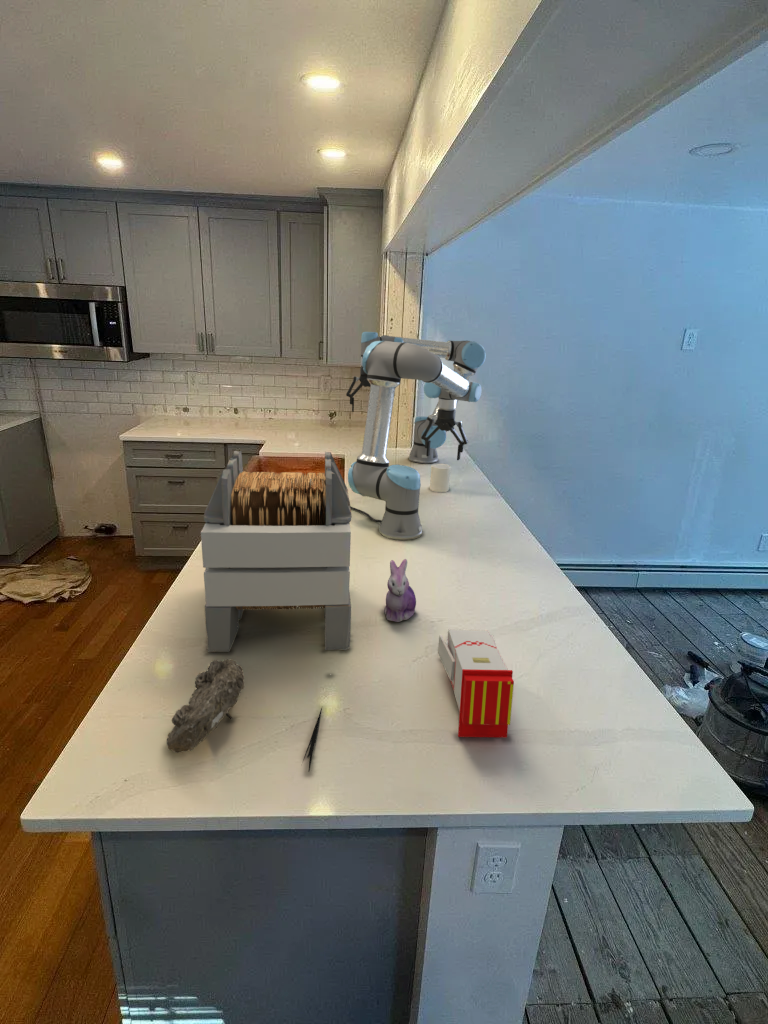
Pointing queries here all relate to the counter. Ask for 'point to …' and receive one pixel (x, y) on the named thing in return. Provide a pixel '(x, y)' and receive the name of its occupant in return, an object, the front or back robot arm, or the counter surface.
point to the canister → (440, 477)
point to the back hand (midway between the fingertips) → (367, 411)
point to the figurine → (399, 594)
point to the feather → (313, 740)
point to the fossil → (206, 705)
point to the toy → (478, 682)
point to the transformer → (277, 549)
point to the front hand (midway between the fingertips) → (443, 457)
